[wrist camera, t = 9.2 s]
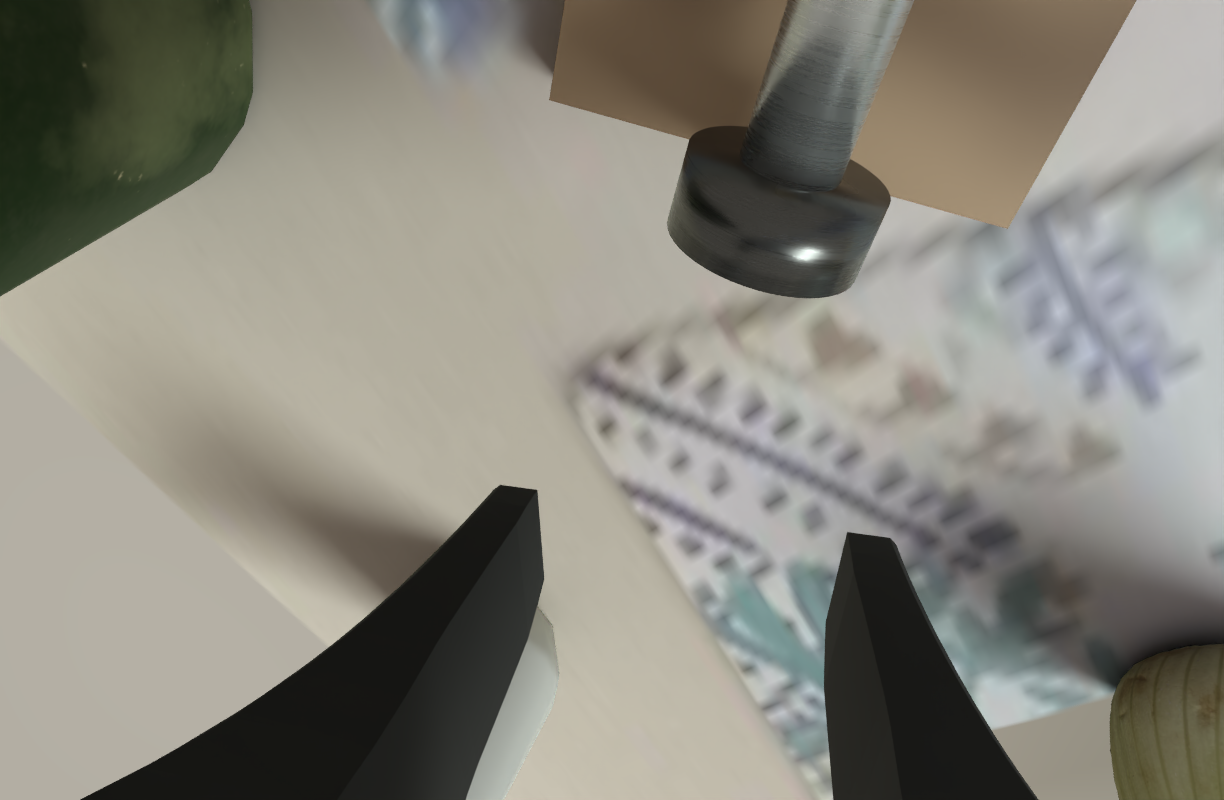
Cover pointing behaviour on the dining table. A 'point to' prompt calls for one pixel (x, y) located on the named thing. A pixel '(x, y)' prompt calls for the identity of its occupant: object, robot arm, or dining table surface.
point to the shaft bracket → (905, 101)
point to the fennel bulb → (1170, 726)
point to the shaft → (795, 159)
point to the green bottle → (110, 115)
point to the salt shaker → (519, 714)
